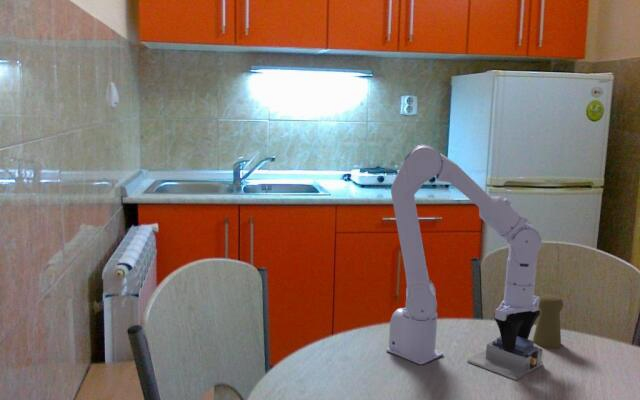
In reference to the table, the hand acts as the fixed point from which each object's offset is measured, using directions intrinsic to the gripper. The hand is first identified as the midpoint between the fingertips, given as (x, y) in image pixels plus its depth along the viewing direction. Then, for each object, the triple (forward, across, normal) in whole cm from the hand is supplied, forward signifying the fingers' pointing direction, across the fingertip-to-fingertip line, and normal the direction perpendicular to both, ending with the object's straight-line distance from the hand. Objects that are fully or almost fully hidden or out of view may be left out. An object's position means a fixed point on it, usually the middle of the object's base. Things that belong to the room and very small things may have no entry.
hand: (514, 345), depth 127 cm
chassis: (+4, -2, +1) cm, 4 cm away
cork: (+4, +16, 0) cm, 16 cm away
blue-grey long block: (+3, 0, 0) cm, 3 cm away
